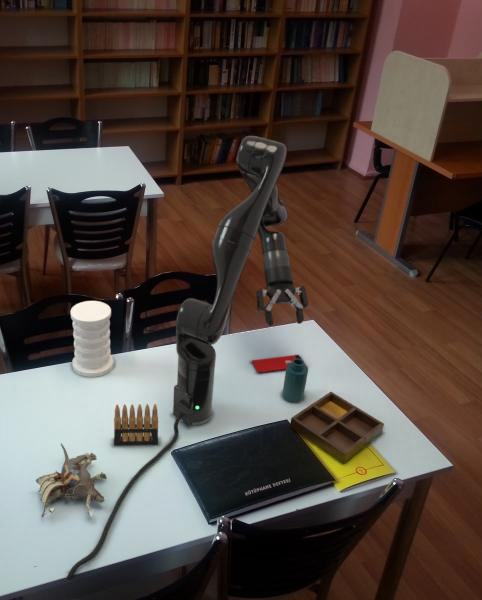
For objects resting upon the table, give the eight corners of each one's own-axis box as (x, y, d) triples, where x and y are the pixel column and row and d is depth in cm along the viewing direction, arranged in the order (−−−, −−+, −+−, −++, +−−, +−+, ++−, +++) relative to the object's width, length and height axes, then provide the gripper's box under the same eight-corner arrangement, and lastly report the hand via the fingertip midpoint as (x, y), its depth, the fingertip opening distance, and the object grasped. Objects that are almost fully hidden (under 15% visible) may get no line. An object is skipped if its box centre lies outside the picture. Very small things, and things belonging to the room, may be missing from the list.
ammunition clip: (113, 445, 148) (112, 407, 142) (114, 440, 149) (113, 401, 143) (158, 444, 149) (159, 406, 143) (158, 439, 150) (159, 401, 144)
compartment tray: (343, 463, 147) (345, 454, 146) (289, 426, 157) (291, 417, 156) (381, 432, 157) (384, 423, 156) (329, 400, 168) (330, 391, 166)
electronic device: (258, 373, 176) (306, 367, 180) (258, 371, 176) (306, 365, 180) (251, 361, 181) (298, 355, 185) (251, 360, 181) (298, 354, 185)
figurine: (127, 483, 131) (59, 527, 120) (126, 501, 134) (60, 545, 124) (73, 430, 142) (7, 466, 132) (74, 448, 146) (9, 484, 135)
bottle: (294, 405, 165) (299, 371, 159) (278, 395, 168) (283, 361, 163) (307, 396, 168) (313, 362, 163) (291, 386, 172) (296, 353, 166)
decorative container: (80, 350, 181) (77, 297, 172) (118, 355, 180) (117, 303, 171) (66, 373, 171) (62, 319, 162) (106, 379, 170) (105, 324, 161)
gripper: (257, 266, 169) (265, 323, 165) (305, 263, 172) (314, 319, 168) (249, 273, 176) (257, 329, 172) (296, 271, 179) (305, 325, 175)
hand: (285, 324), depth 170 cm, fingers open, 8 cm apart
